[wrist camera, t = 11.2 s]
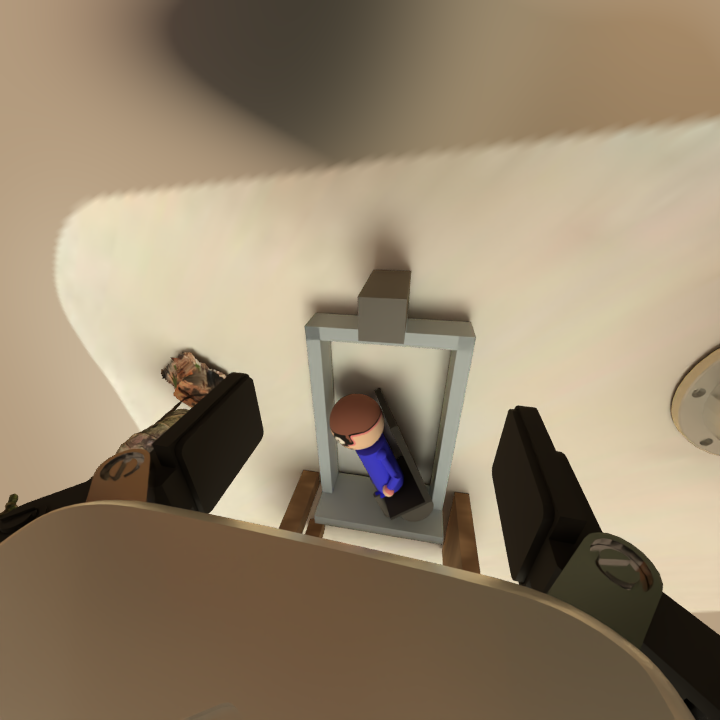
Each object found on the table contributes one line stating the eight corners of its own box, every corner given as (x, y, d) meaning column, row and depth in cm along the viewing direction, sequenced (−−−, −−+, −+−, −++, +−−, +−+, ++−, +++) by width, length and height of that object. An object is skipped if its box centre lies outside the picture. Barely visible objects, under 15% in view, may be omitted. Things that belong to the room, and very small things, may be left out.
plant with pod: (218, 435, 39) (59, 629, 22) (155, 363, 35) (-100, 534, 18) (266, 418, 36) (126, 628, 19) (204, 338, 32) (-46, 514, 15)
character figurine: (385, 479, 38) (335, 379, 32) (444, 475, 35) (402, 365, 29) (371, 542, 31) (306, 432, 26) (442, 544, 29) (388, 420, 23)
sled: (479, 273, 24) (498, 303, 18) (439, 493, 36) (442, 554, 30) (312, 267, 26) (278, 292, 20) (329, 477, 39) (312, 531, 33)
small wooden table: (468, 494, 36) (492, 658, 23) (454, 551, 42) (466, 707, 29) (303, 470, 39) (246, 604, 27) (311, 527, 45) (268, 658, 33)
